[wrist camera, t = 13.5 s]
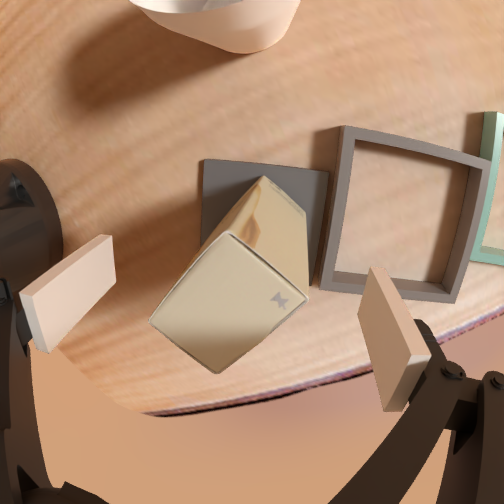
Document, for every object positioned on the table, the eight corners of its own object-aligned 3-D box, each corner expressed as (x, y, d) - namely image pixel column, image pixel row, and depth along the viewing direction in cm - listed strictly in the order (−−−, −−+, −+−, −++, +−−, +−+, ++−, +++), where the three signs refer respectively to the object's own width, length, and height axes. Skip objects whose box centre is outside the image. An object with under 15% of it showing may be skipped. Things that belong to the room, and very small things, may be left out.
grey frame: (317, 278, 26) (319, 289, 24) (340, 125, 21) (344, 125, 19) (445, 292, 25) (454, 303, 23) (479, 158, 20) (491, 161, 18)
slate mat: (202, 268, 27) (200, 271, 26) (206, 158, 23) (204, 159, 23) (310, 282, 26) (311, 286, 25) (328, 171, 22) (329, 172, 22)
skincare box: (263, 172, 23) (230, 218, 11) (308, 212, 23) (318, 295, 12) (208, 235, 25) (141, 323, 14) (250, 270, 25) (216, 379, 14)
